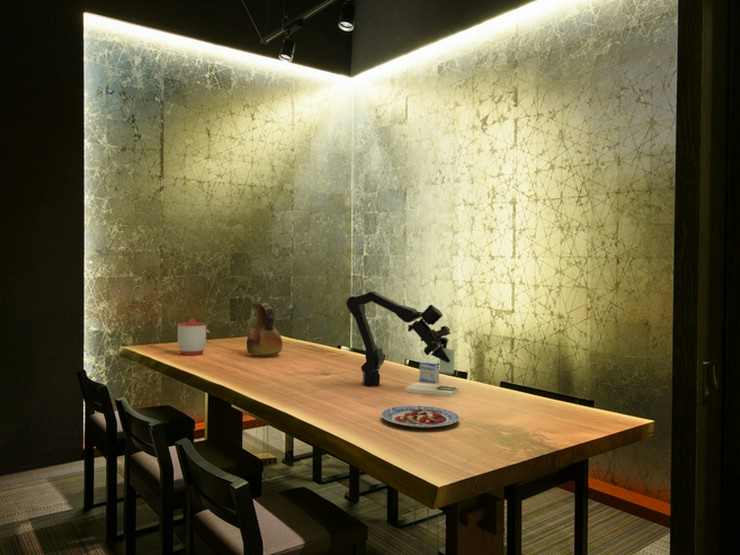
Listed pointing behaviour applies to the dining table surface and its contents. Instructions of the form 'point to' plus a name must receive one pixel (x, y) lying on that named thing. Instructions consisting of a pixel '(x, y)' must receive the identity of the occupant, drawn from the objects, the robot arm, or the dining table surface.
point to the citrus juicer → (192, 337)
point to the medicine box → (429, 372)
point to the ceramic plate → (420, 416)
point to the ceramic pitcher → (264, 333)
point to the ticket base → (432, 389)
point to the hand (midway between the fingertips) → (450, 361)
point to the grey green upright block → (447, 367)
